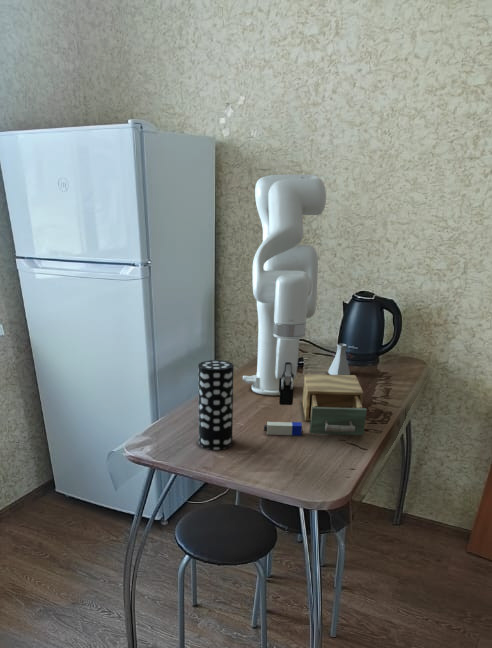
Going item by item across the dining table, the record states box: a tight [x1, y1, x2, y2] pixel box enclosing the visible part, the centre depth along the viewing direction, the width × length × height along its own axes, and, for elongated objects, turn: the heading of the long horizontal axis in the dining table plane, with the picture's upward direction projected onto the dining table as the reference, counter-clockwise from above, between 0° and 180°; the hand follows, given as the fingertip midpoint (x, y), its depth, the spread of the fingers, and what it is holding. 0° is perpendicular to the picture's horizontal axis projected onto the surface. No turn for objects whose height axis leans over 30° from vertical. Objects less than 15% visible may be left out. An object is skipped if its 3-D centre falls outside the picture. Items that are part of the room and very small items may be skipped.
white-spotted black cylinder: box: [197, 359, 234, 451], centre depth 140 cm, size 8×8×20 cm
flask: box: [327, 343, 351, 375], centre depth 194 cm, size 7×7×10 cm
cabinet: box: [302, 373, 364, 422], centre depth 162 cm, size 16×15×9 cm
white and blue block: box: [263, 421, 303, 437], centre depth 149 cm, size 10×3×3 cm, turn 84°
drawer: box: [309, 394, 368, 436], centre depth 149 cm, size 20×13×7 cm
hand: (285, 398), depth 145 cm, fingers open, 9 cm apart
